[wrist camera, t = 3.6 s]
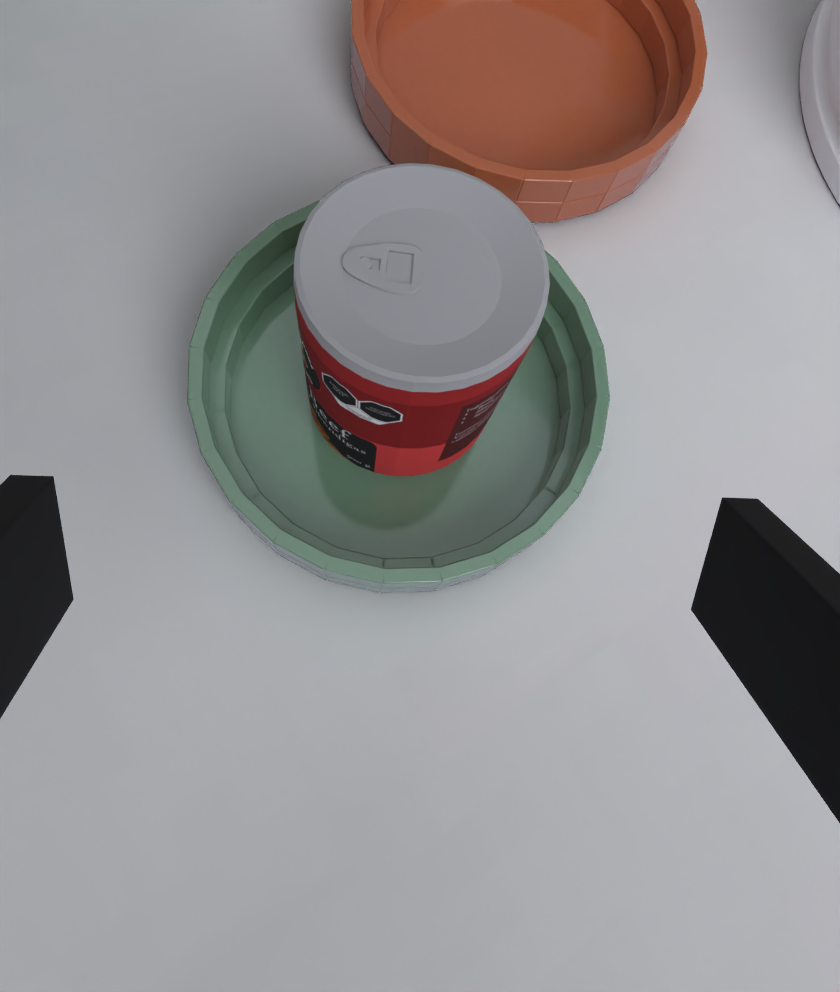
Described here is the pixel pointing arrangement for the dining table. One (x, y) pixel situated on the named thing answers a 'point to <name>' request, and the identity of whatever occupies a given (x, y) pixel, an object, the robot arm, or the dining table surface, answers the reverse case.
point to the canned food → (414, 312)
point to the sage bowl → (373, 496)
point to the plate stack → (823, 90)
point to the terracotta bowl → (530, 91)
